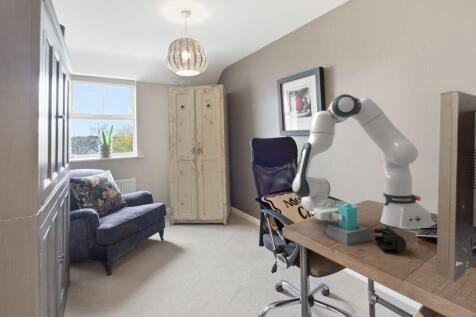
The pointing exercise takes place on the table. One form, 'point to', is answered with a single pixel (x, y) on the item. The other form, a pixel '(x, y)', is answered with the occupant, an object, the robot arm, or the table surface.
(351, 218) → the teal brick
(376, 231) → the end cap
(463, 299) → the table surface
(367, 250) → the table surface
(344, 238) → the base plate
